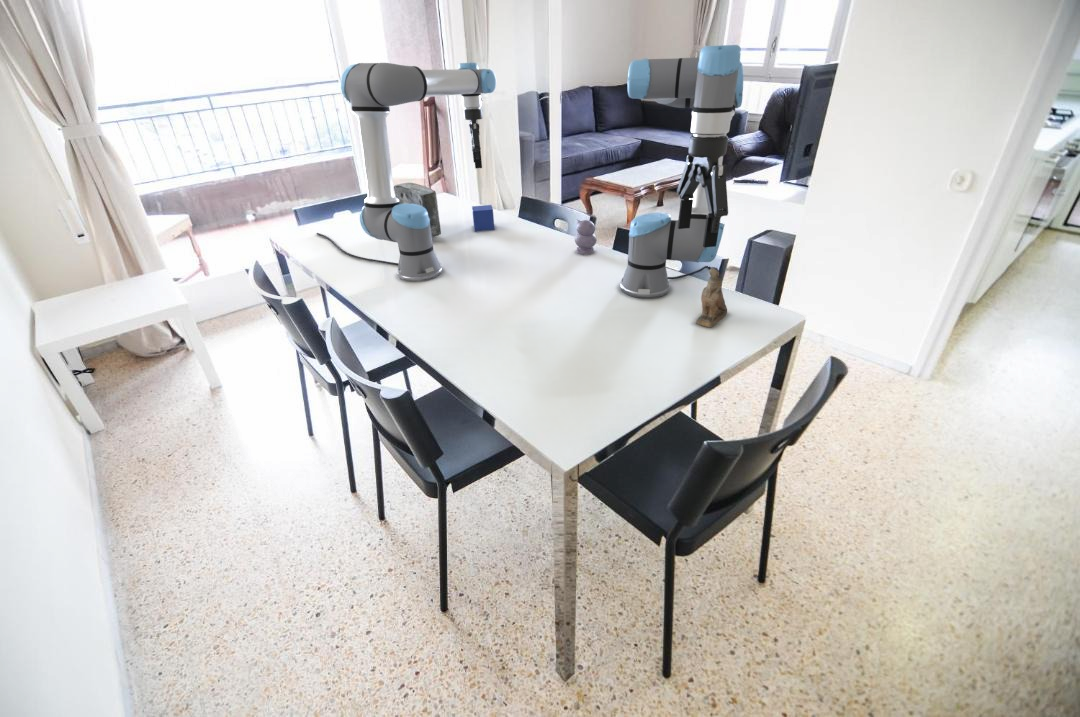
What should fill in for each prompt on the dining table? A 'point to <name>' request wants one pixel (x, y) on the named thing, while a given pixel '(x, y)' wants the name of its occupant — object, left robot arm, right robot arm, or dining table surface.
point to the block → (483, 218)
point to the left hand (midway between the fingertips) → (477, 165)
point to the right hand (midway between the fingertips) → (695, 237)
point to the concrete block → (420, 202)
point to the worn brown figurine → (712, 301)
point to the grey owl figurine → (585, 237)
